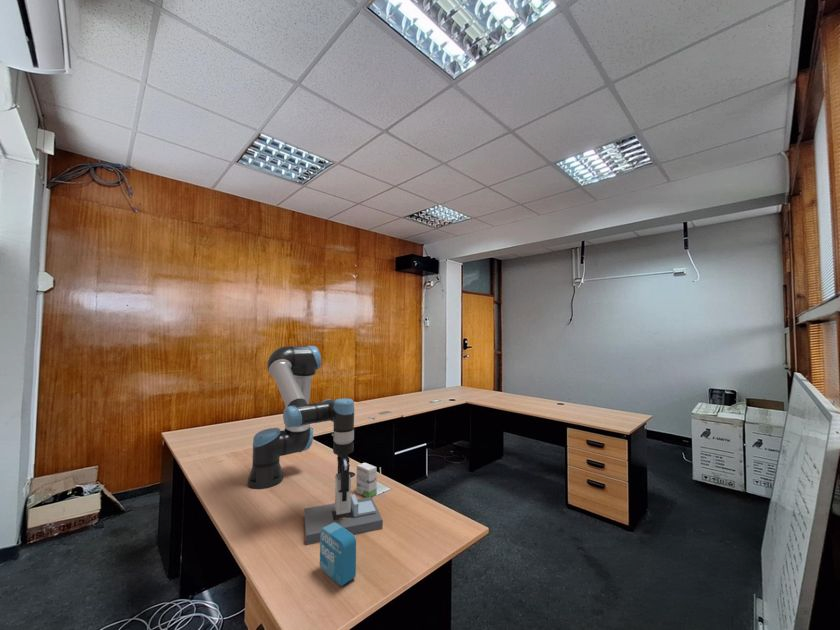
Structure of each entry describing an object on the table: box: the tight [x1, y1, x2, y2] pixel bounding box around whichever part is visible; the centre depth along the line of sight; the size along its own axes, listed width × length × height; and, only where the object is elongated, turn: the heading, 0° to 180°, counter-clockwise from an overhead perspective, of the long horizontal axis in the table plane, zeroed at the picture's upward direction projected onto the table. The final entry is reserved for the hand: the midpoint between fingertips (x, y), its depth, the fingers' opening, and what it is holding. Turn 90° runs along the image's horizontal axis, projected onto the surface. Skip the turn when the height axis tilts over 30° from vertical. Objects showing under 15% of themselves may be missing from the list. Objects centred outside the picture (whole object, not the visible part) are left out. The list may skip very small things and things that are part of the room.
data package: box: [319, 522, 357, 587], centre depth 97 cm, size 12×4×12 cm, turn 48°
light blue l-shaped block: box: [351, 493, 376, 517], centre depth 125 cm, size 8×8×4 cm
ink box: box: [356, 462, 378, 498], centre depth 145 cm, size 9×5×12 cm, turn 49°
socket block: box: [303, 496, 384, 546], centre depth 123 cm, size 18×26×3 cm
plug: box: [334, 472, 352, 515], centre depth 123 cm, size 5×5×13 cm
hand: (342, 505), depth 123 cm, fingers closed on plug, 5 cm apart
